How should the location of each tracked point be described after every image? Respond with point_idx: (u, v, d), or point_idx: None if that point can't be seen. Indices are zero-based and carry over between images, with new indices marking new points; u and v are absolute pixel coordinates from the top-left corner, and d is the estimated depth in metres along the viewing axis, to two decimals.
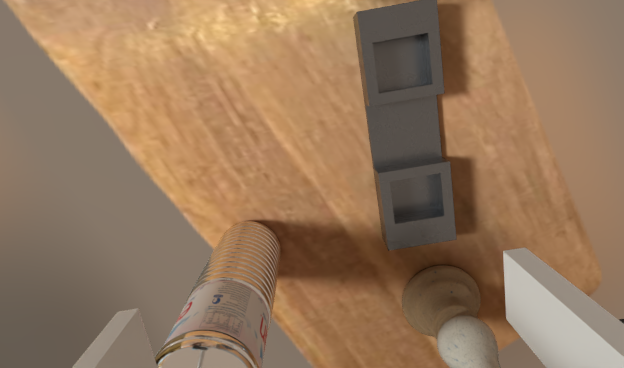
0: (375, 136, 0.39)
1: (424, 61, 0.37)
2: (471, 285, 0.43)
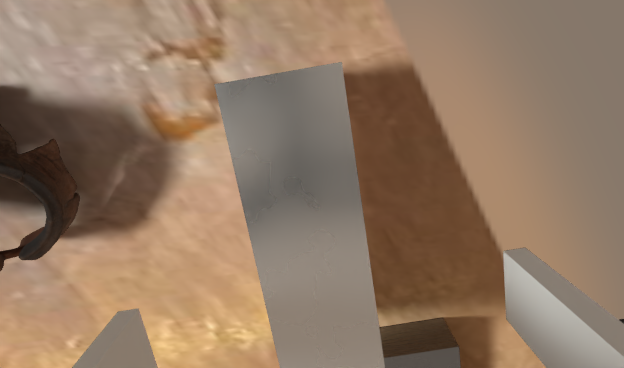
0: None
1: None
2: None
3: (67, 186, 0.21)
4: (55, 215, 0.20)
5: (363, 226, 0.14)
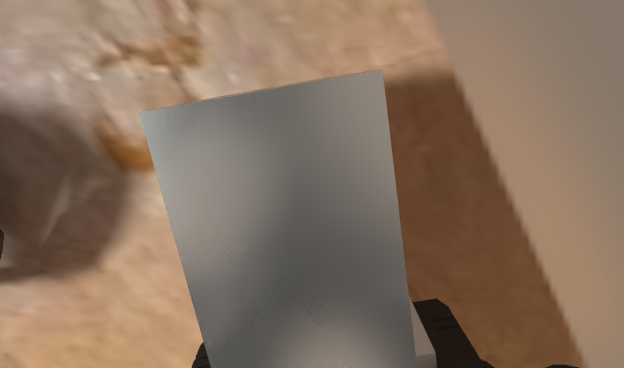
0: None
1: None
2: None
3: None
4: None
5: (413, 358, 0.08)
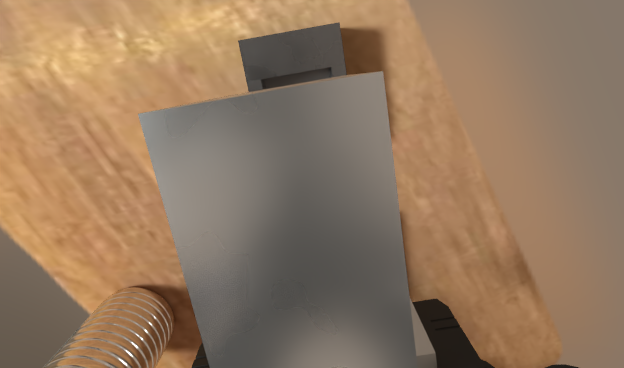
0: None
1: None
2: None
3: None
4: None
5: (414, 361, 0.08)
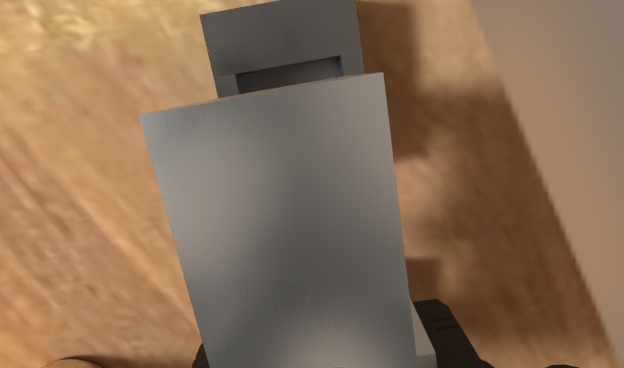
0: None
1: None
2: None
3: None
4: None
5: (414, 361, 0.08)
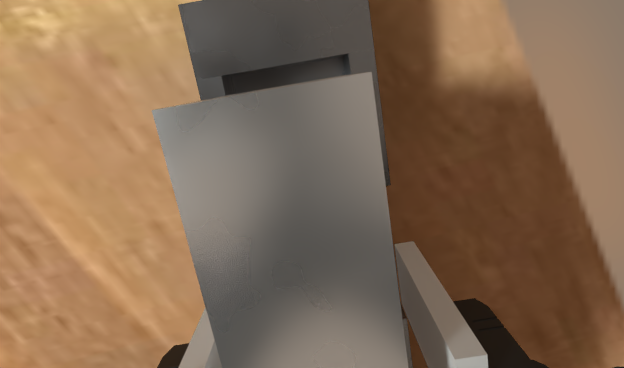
0: None
1: None
2: None
3: None
4: None
5: (402, 336, 0.08)
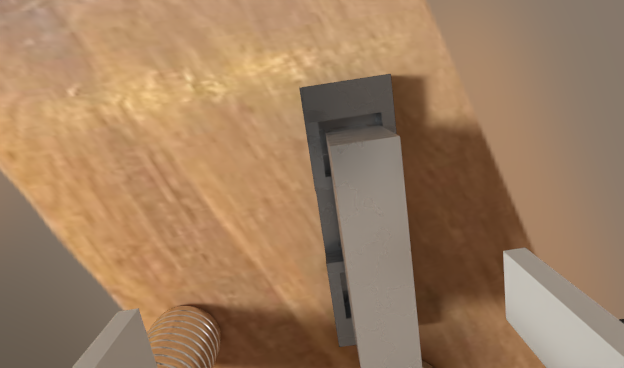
0: (326, 217, 0.35)
1: None
2: None
3: None
4: None
5: (407, 227, 0.23)
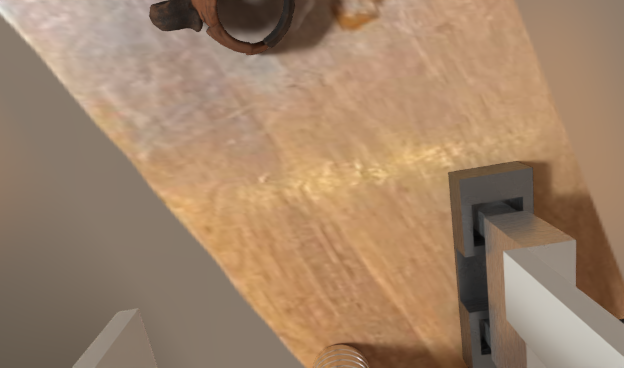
0: (463, 273, 0.43)
1: None
2: None
3: None
4: (290, 10, 0.32)
5: None
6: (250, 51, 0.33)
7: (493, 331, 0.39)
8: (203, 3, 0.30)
